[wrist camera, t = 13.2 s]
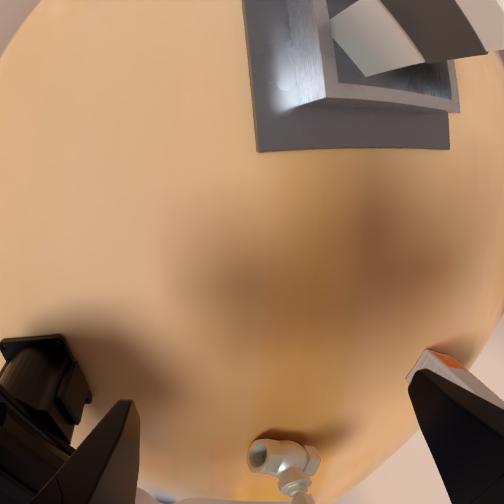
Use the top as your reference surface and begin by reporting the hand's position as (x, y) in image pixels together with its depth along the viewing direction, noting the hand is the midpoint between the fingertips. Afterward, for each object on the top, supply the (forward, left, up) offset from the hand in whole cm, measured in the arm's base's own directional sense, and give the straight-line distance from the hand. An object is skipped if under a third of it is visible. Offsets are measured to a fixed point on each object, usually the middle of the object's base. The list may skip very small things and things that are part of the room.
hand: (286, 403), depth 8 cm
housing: (+11, +15, -12) cm, 22 cm away
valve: (+3, -20, -12) cm, 24 cm away
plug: (+11, +15, -11) cm, 21 cm away
